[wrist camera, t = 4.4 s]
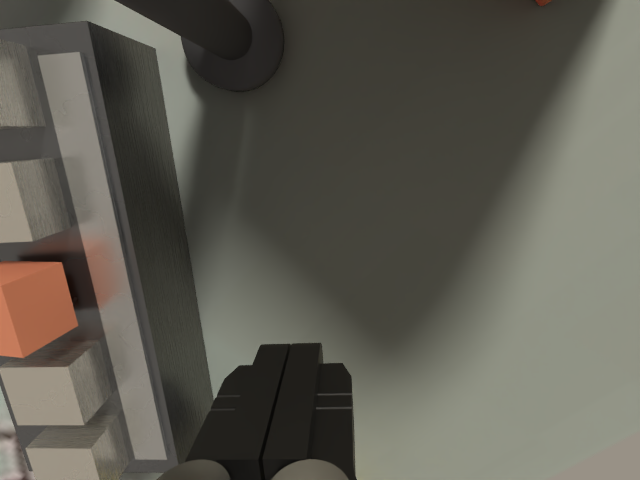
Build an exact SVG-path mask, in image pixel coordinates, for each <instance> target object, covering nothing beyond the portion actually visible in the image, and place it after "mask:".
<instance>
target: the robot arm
mask: <svg viewBox="0 0 640 480" xmlns="http://www.w3.org/2000/svg"><path fill="white" fill-rule="evenodd" d="M156 480H357V479H356V476H355V442H354V417H353V398H352V379H351V375H350V374H349V372H348V371H347V369H346V368H345V366H344V365H343V363H328V364H323V352H322V345H321V343H296V344H292V345H291V344H262V345H261V346H260V347H259V350H258V352H257V355H256V357H255V360H254V362H253V365H241V366H238V367H237V368H236V369H235V370H234V371H233V372H232V373H231V374H230V375H228V376H227V377H226V378H225V379H224V381H223V383H222V386H221V388H220V390H219V392H218V394H217V398H215V400H214V402H213V404H212V406H211V411H209V412H208V414H207V417H206V419H205V421H204V423H203V425H202V427H201V429H200V431H199V433H198V435H197V437H196V439H195V441H194V443H193V445H192V447H191V450H190V452H189V454H188V456H187V458H186V460H185V462H184V463H182V464H179V465H177V466H175V467H173V468H171V469H169V470H168V471H167V472H165V473H164V474H162V475H161V476H160V477H159V478H158V479H156Z"/></svg>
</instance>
